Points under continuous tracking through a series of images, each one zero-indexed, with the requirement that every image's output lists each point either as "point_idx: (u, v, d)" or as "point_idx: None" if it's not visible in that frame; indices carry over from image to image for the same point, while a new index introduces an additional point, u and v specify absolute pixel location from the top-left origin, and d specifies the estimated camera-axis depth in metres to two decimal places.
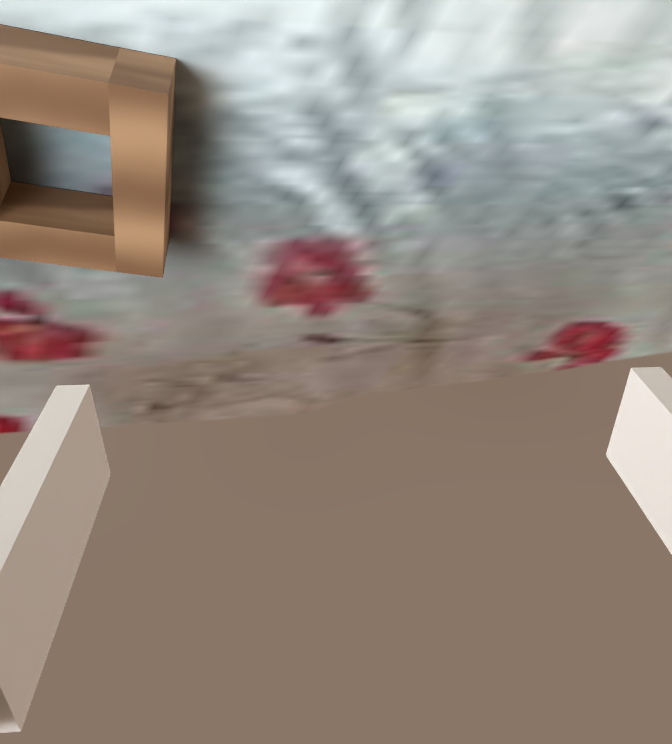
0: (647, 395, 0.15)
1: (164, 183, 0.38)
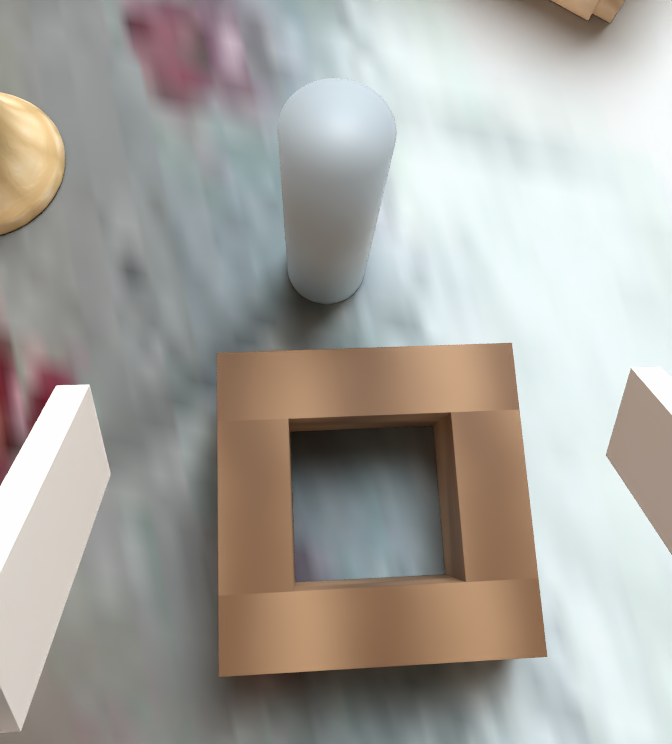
0: (647, 395, 0.15)
1: (409, 663, 0.25)
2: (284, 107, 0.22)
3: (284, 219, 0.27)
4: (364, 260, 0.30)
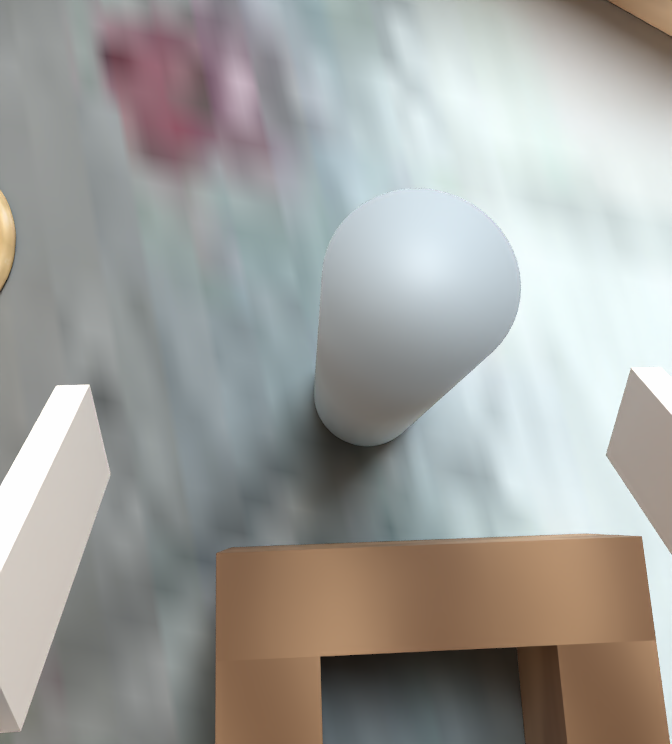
0: (648, 395, 0.15)
1: None
2: (333, 239, 0.13)
3: (318, 367, 0.18)
4: None
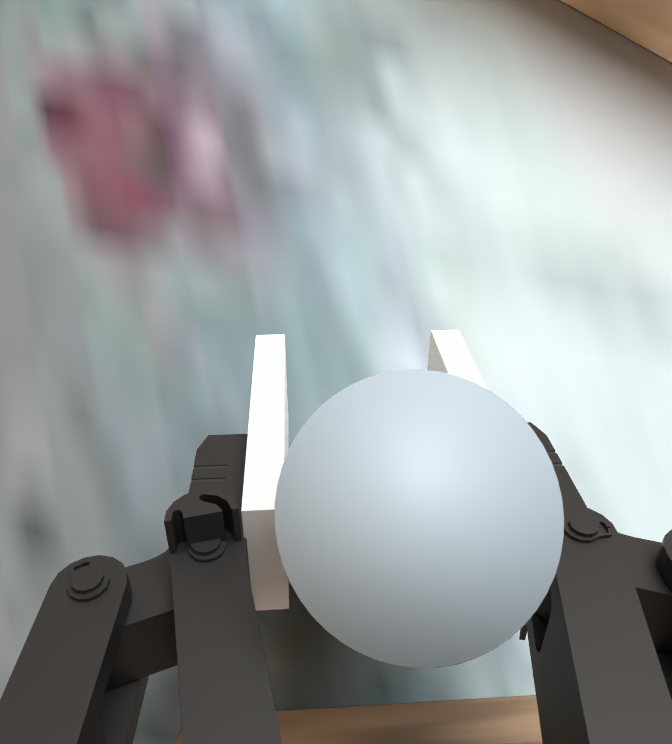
0: (437, 353, 0.16)
1: None
2: (291, 452, 0.09)
3: None
4: None
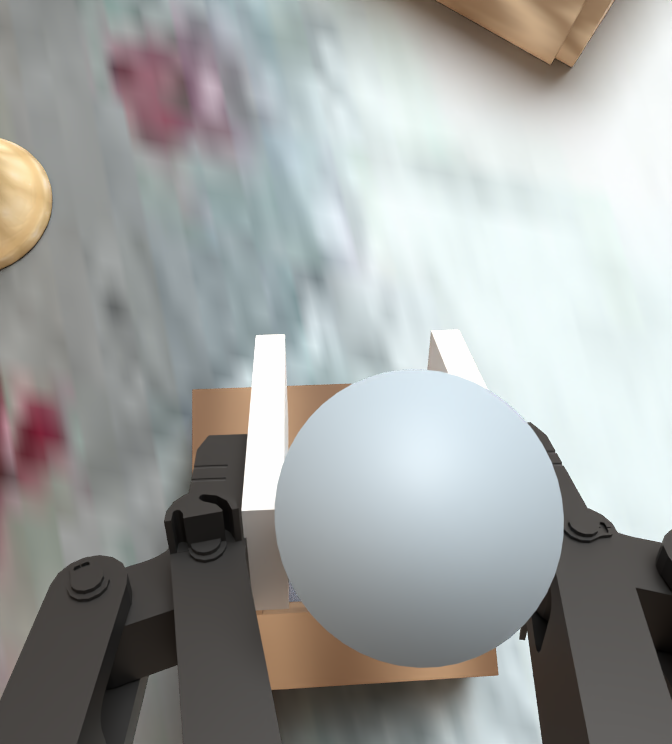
0: (437, 354, 0.16)
1: (369, 681, 0.27)
2: (291, 451, 0.09)
3: None
4: None
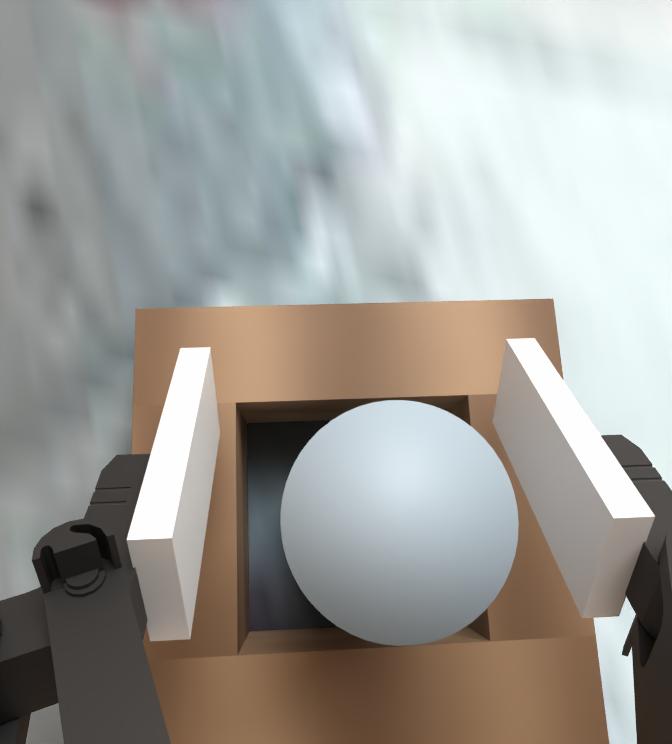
0: (516, 363, 0.16)
1: None
2: (294, 469, 0.11)
3: None
4: None
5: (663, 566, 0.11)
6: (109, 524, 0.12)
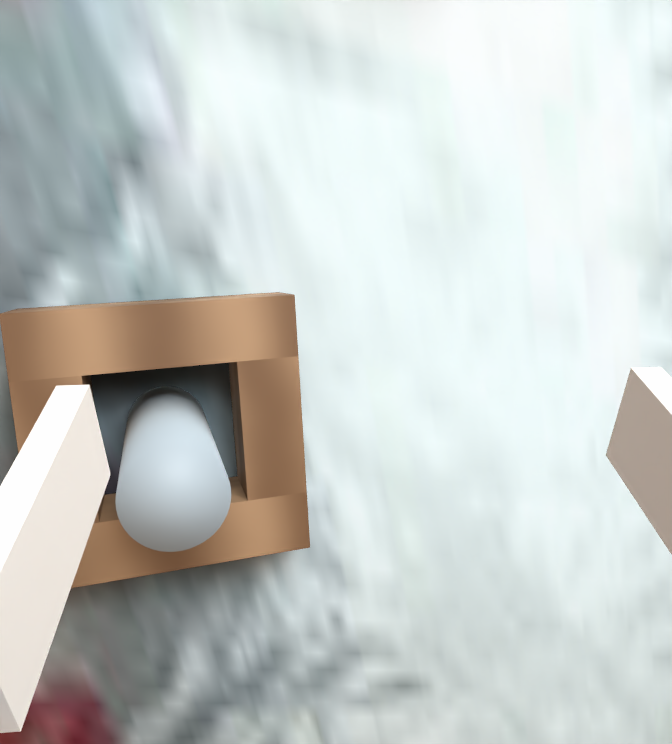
0: (647, 395, 0.15)
1: (201, 564, 0.32)
2: (120, 481, 0.22)
3: None
4: None
5: None
6: None
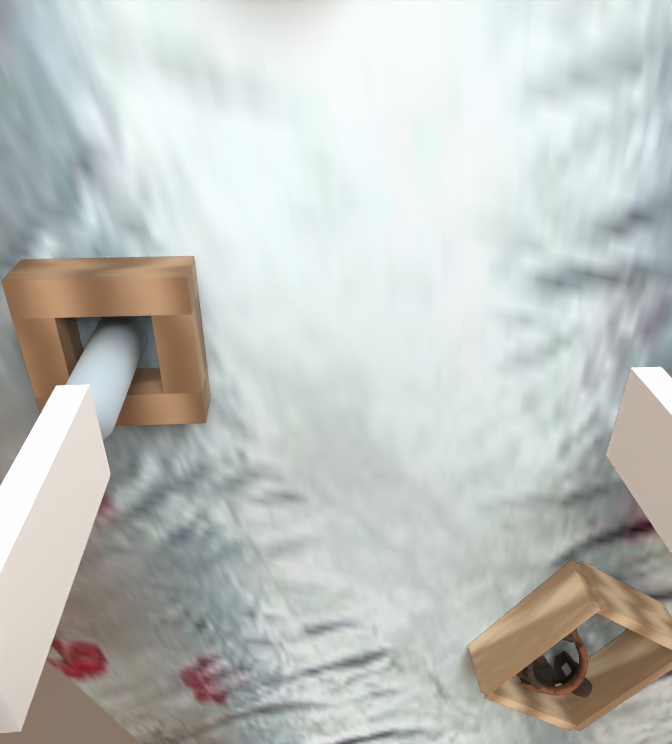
0: (648, 395, 0.15)
1: (137, 424, 0.53)
2: None
3: None
4: None
5: None
6: None
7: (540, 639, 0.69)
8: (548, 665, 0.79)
